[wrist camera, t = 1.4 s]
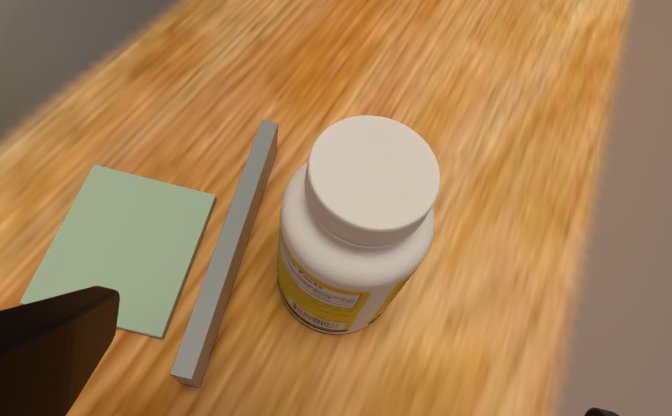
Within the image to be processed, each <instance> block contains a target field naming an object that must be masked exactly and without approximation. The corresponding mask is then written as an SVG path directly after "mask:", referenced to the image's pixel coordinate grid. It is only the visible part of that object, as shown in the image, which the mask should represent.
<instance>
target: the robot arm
mask: <svg viewBox="0 0 672 416" xmlns="http://www.w3.org/2000/svg"><path fill="white" fill-rule="evenodd" d="M119 303H120V295H119V292H118V291H117V290H114V289H110V288H106V287H102V286H92V287H89V288H85V289H81V290H77V291H73V292H70V293H66V294H62V295H58V296H54V297H51V298H47V299H43V300H39V301H36V302H32V303H28V304H24V305H20V306H17V307H13V308H9V309H5V310H1V311H0V416H66V414H67V413H68V411H69V410H70V408H71V407H72V405H73V404H74V402H75V401H76V399H77V397H78V396H79V394H80V393H81V391H82V389H83V388H84V386H85V384H86V383H87V381H88V380H89V378H90V376H91V375H92V373H93V372H94V370H95V368H96V367H97V365H98V363H99V362H100V360H101V359H102V357H103V355H104V354H105V352H106V351H107V349H108V347H109V346H110V344H111V342H112V340H113V338H114V336H115V332H116V327H117V319H118V311H119ZM585 416H619V415H617V414H616V413H614V412H611V411H608V410H603V409H599V408H591V409H589V410H588V411H587V412H586V414H585Z"/></svg>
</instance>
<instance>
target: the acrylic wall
mask: <svg viewBox="0 0 672 416" xmlns="http://www.w3.org/2000/svg"><path fill="white" fill-rule="evenodd" d="M277 134H278V123H274V122H270V121H266V120H261V123H260V126H259V128H258V131H257V134H256V137H255V140H254V142H253V145H252V148H251V151H250V153H249V156H248V159H247V162H246V165H245V167H244V170H243V173H242V176H241V178H240V181H239V184H238V187H237V190H236V192H235V195H234V198H233V201H232V203H231V206H230V209H229V212H228V214H227V217H226V220H225V223H224V226H223V228H222V231H221V234H220V237H219V239H218V242H217V245H216V248H215V251H214V253H213V256H212V259H211V262H210V264H209V267H208V270H207V273H206V276H205V278H204V281H203V284H202V287H201V289H200V292H199V295H198V298H197V300H196V303H195V306H194V309H193V312H192V314H191V317H190V320H189V323H188V325H187V328H186V331H185V334H184V337H183V339H182V342H181V345H180V348H179V350H178V353H177V356H176V359H175V362H174V364H173V367H172V370H171V373H170V375H172V376H173V377H174V378H175V379H176V380H177V381H178V382H180V383H182V384H186V385H190V386H194V387H198V388H200V385H201V382H202V378H203V375H204V372H205V369H206V366H207V363H208V360H209V357H210V354H211V351H212V348H213V345H214V342H215V339H216V336H217V333H218V330H219V327H220V324H221V321H222V318H223V314H224V311H225V308H226V305H227V302H228V299H229V296H230V293H231V290H232V287H233V284H234V281H235V278H236V275H237V272H238V269H239V266H240V263H241V260H242V257H243V253H244V250H245V247H246V244H247V241H248V238H249V235H250V232H251V229H252V226H253V223H254V220H255V217H256V214H257V211H258V208H259V205H260V202H261V199H262V196H263V192H264V189H265V186H266V183H267V180H268V177H269V174H270V171H271V168H272V165H273V162H274V159H275V156H276V153H277Z"/></svg>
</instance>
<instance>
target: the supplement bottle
mask: <svg viewBox="0 0 672 416" xmlns="http://www.w3.org/2000/svg"><path fill="white" fill-rule="evenodd" d="M439 189H440V170H439V166H438V162H437V160H436V157H435V155H434V153H433V152H432V150H431V148H430V147H429V146H428V144H427V143H426V142H425V141H424V139H423V138H422V137H421V136H419V135H418V134H417V133H416V132H415V131H413V130H412V129H410V128H409V127H407V126H405V125H404V124H402V123H399V122H397V121H395V120H392V119H389V118H385V117H380V116H370V115H363V116H354V117H349V118H346V119H343V120H341V121H338V122H336V123H334V124H332V125H331V126H329V127H328V128H327V129H326V130H324V131H323V132H322V134H321V135H320V136H319V137H318V138H317V140H316V141H315V143H314V144H313V146H312V149H311V151H310V154H309V159H308V161H307V162H306V163H304V164H303V165H302V166H301V167H300V168H299V169H298V170H297V171H296V173H295V174H294V175H293V177H292V178H291V180H290V182H289V184H288V186H287V188H286V190H285V193H284V196H283V200H282V206H281V213H280V233H279V251H278V284H279V289H280V292H281V295H282V297H283V300H284V302H285V304H286V306H287V307H288V309H289V310H290V311H291V313H292V314H293V315H294V316H295V317H296V318H297V319H298V320H300V321H301V322H302V323H303V324H305V325H307V326H309V327H310V328H313V329H315V330H317V331H320V332H324V333H329V334H345V333H351V332H354V331H357V330H360V329H362V328H364V327H366V326H368V325H369V324H371V323H372V322H373V321H374V320H376V319H377V318H378V317H379V316H380V315H381V314H382V312H383V311H384V310H385V309H386V308H387V306H388V305H389V304H390V302H391V301H392V300H393V299H394V297H395V296H396V295H397V293H398V292H399V291H400V290H401V288H402V287H403V286H404V284H405V283H406V282H407V281H408V279H409V278H410V277H411V276H412V274H413V273H414V272H415V271H416V269H417V268H418V267H419V265H420V264H421V262H422V261H423V259H424V257H425V256H426V254H427V252H428V250H429V248H430V245H431V242H432V239H433V235H434V227H435V218H434V210H433V205H434V203H435V201H436V199H437V196H438V193H439Z"/></svg>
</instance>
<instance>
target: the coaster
mask: <svg viewBox="0 0 672 416" xmlns="http://www.w3.org/2000/svg"><path fill="white" fill-rule="evenodd" d="M215 201H216V195H213V194H209V193H205V192H201V191H197V190H193V189H189V188H185V187H181V186H177V185H173V184H169V183H165V182H161V181H157V180H153V179H149V178H145V177H141V176H137V175H133V174H130V173H126V172H122V171H118V170H114V169H110V168H106V167H102V166H98V165H94V166H93V168H92V170H91V171H90V173H89V175H88V177H87V179H86V181H85V183H84V184H83V186H82V188H81V190H80V192H79V194H78V195H77V197H76V199H75V201H74V203H73V205H72V207H71V208H70V210H69V212H68V214H67V216H66V218H65V219H64V221H63V223H62V225H61V227H60V229H59V231H58V232H57V234H56V236H55V238H54V240H53V242H52V243H51V245H50V247H49V249H48V251H47V253H46V255H45V256H44V258H43V260H42V262H41V264H40V266H39V267H38V269H37V271H36V273H35V275H34V277H33V279H32V280H31V282H30V284H29V286H28V288H27V290H26V291H25V293H24V295H23V297H22V299H21V301H20V304H22V305H24V304H28V303H32V302H36V301H39V300H43V299H47V298H51V297H54V296H58V295H62V294H66V293H70V292H73V291H77V290H81V289H85V288H89V287H92V286H102V287H106V288H110V289H114V290H117V291H118V292H119V295H120V303H119V311H118V319H117V327H116V328H118V329H122V330H126V331H130V332H135V333H139V334H143V335H147V336H151V337H155V338H159V339H163V338H164V336H165V333H166V330H167V328H168V325H169V322H170V320H171V317H172V315H173V312H174V309H175V307H176V304H177V301H178V299H179V296H180V293H181V291H182V288H183V286H184V283H185V280H186V278H187V275H188V272H189V270H190V267H191V264H192V262H193V259H194V257H195V254H196V251H197V249H198V246H199V243H200V241H201V238H202V236H203V233H204V230H205V228H206V225H207V222H208V220H209V217H210V214H211V212H212V209H213V207H214V204H215Z"/></svg>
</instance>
